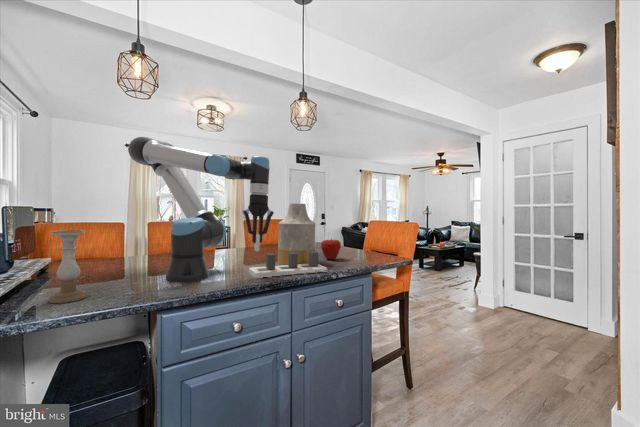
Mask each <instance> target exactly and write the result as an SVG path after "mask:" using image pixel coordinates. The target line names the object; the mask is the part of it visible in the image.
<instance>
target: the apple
mask: <svg viewBox="0 0 640 427" xmlns="http://www.w3.org/2000/svg"><path fill="white" fill-rule="evenodd" d="M341 247H342V243H341V242H340V240H339V239H333V238H330V239H325V240H322V242H321V243H320V248H321V251H322V253H323V256H324V258H325V259H327V260H328V259H334V260H337V257H338V254H339V252H340V250H341Z"/></svg>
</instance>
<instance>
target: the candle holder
mask: <svg viewBox="0 0 640 427" xmlns="http://www.w3.org/2000/svg"><path fill="white" fill-rule="evenodd" d="M50 234H51V236H58V237H59V238H58V239H59V241H61V243H62V246H61V247H60V248H59V250H61V251H62V257H61V262H60V264H59V267H58V268H57V270H56V277H57V278H58V279H59V281H58V282H57V285H58V286H59V287H60V290H59V291H55V292H54V293H53V295H51V296H50V297H48V302H49V303H51V304H65V303H73V302H77V301H81V300H83V299H86V298H87V297H88V293H87V292H86V291H84V290H83V289H81V288H77V285H78V283H79V282H80V279H78V277H79V276H80V274H81V268H80V266H79V265H78V262H77V261H76V256H75V254H76V253H75V252H76V250H77V249H78V247H77V246H76V245H75V244H76V241H77V240H78V238H79V237H78V236H80V235H85V234H86V231H85V230H82V229H69V230H68V229H66V230H65V229H64V230H54V231H51V233H50Z"/></svg>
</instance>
